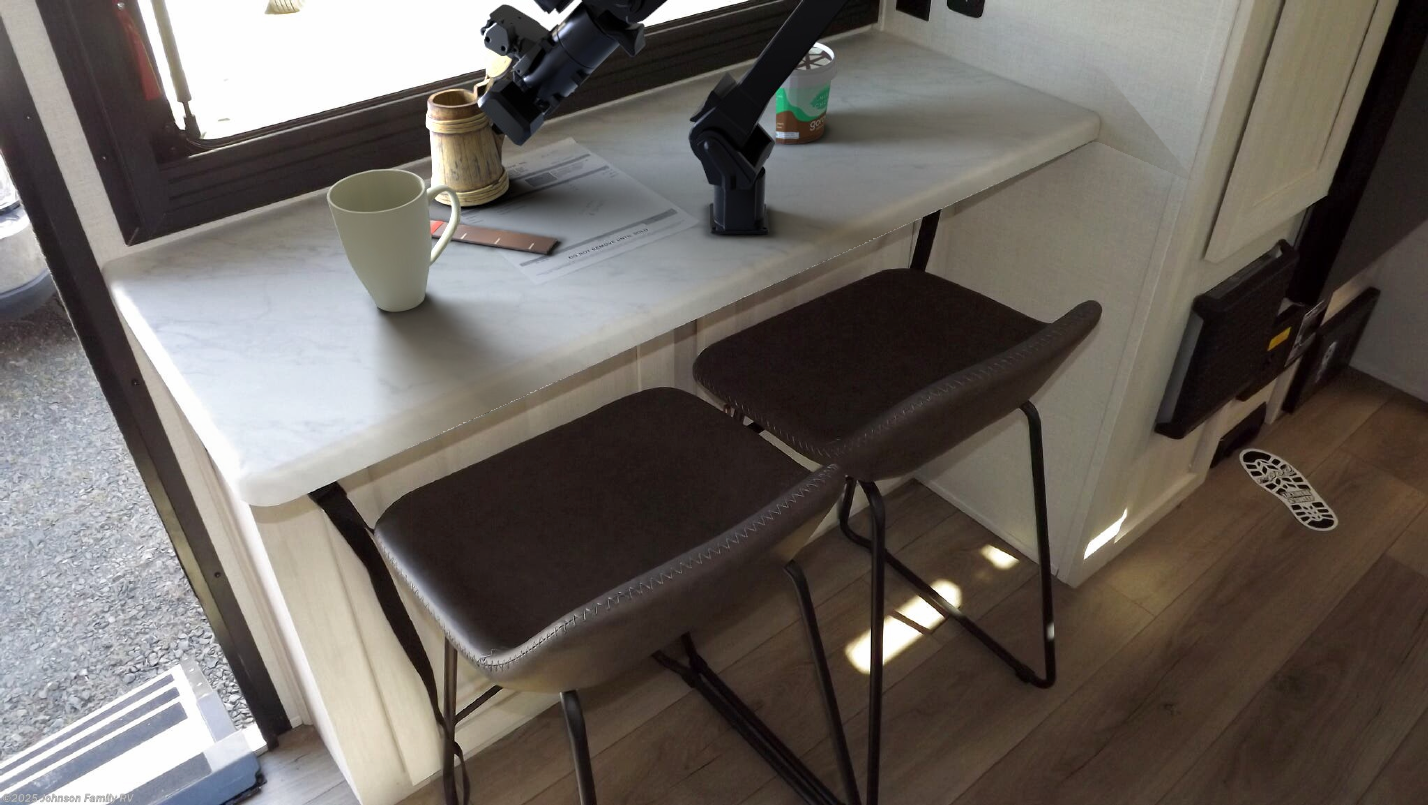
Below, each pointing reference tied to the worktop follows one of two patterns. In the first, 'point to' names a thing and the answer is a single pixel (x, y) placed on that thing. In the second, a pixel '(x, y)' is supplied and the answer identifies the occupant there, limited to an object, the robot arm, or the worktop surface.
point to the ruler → (495, 237)
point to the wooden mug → (468, 140)
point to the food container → (805, 97)
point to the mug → (390, 232)
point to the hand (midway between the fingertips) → (495, 130)
